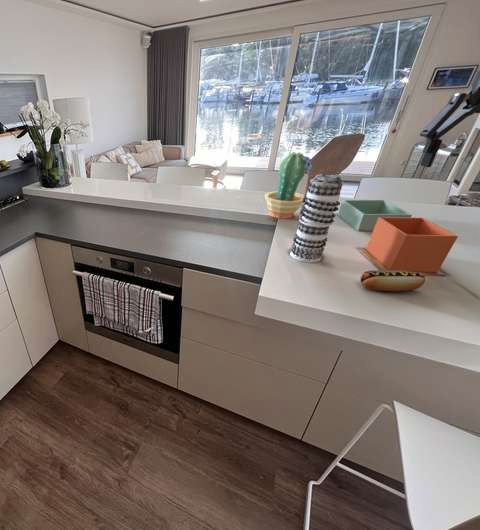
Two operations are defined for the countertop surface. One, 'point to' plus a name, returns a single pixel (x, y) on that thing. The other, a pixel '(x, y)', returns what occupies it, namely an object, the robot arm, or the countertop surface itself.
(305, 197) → the decorative candle
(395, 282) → the hot dog
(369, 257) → the wooden square board
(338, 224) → the countertop surface
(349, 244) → the countertop surface
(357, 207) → the sage bin
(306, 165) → the potted cactus
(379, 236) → the terracotta bin
